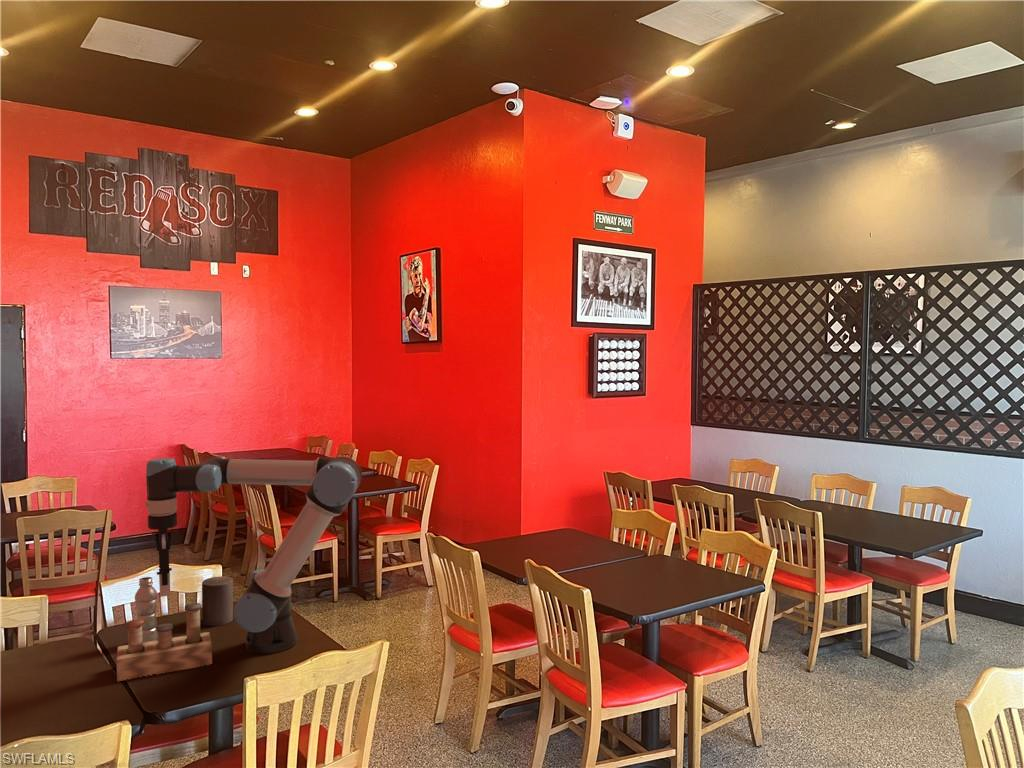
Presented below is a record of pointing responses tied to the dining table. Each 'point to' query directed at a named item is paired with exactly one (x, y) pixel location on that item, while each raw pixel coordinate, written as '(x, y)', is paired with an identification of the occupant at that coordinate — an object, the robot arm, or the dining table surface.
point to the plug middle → (164, 635)
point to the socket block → (164, 657)
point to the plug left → (193, 622)
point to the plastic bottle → (147, 608)
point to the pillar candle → (217, 601)
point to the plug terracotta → (135, 636)
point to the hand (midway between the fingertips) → (165, 595)
